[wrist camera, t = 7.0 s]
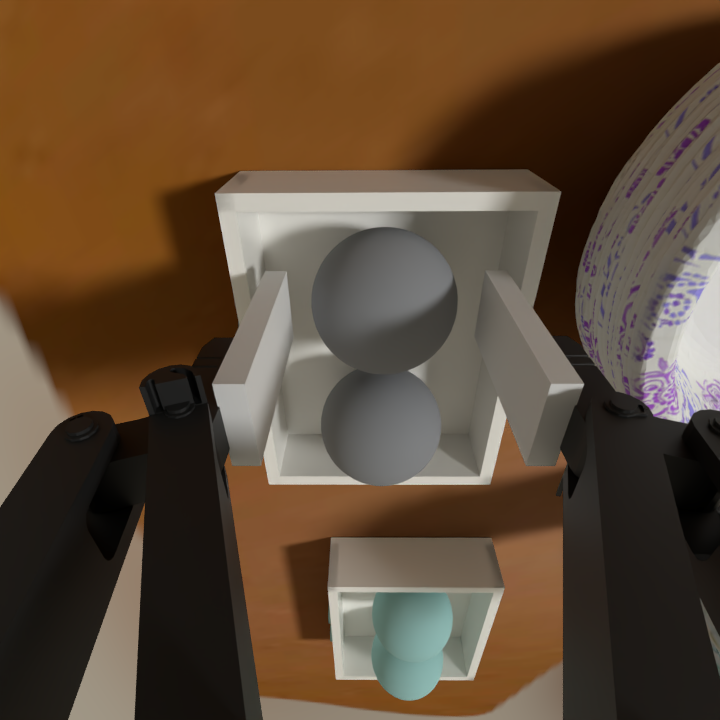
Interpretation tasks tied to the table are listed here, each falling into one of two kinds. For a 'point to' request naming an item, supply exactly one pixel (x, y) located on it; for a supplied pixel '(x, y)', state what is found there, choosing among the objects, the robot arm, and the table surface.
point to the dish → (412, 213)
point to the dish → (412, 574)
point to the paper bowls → (660, 265)
